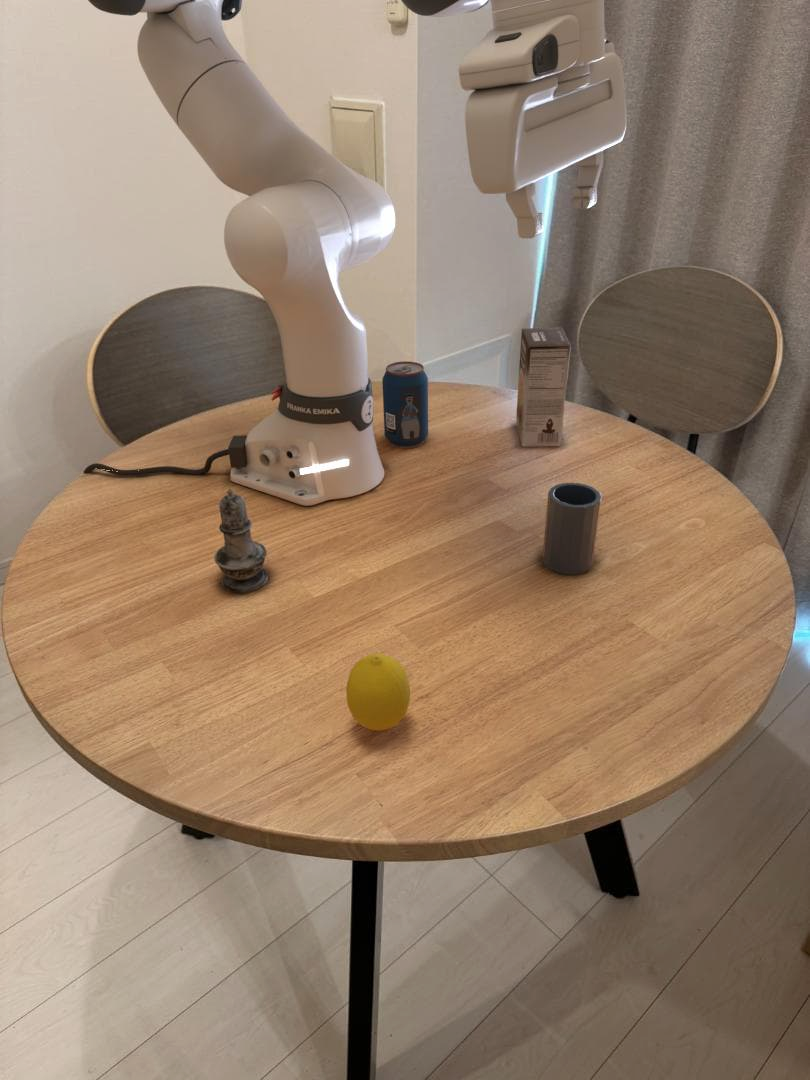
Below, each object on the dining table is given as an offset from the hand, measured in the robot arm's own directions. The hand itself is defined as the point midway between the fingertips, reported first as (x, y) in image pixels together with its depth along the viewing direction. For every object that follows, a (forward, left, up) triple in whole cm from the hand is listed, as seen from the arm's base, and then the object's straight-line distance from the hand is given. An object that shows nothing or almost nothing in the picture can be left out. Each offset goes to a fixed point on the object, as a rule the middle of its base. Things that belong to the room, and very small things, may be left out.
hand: (559, 221), depth 68 cm
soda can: (-27, +26, -38) cm, 53 cm away
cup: (+4, +1, -38) cm, 38 cm away
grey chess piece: (-30, -16, -38) cm, 51 cm away
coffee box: (-8, +35, -38) cm, 52 cm away
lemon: (-6, -31, -38) cm, 49 cm away
